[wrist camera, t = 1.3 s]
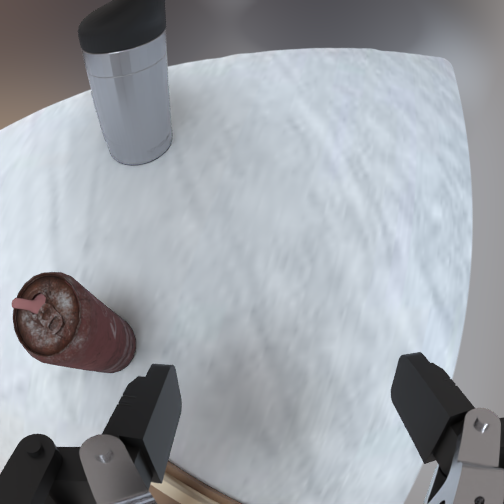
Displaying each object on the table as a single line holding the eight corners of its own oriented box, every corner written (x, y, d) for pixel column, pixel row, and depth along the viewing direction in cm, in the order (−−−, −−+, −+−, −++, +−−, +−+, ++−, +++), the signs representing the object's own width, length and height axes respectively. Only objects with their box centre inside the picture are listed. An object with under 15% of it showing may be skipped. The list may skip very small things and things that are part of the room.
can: (82, 314, 28) (12, 265, 16) (137, 316, 29) (89, 267, 17) (80, 370, 26) (2, 354, 13) (137, 375, 27) (82, 367, 14)
